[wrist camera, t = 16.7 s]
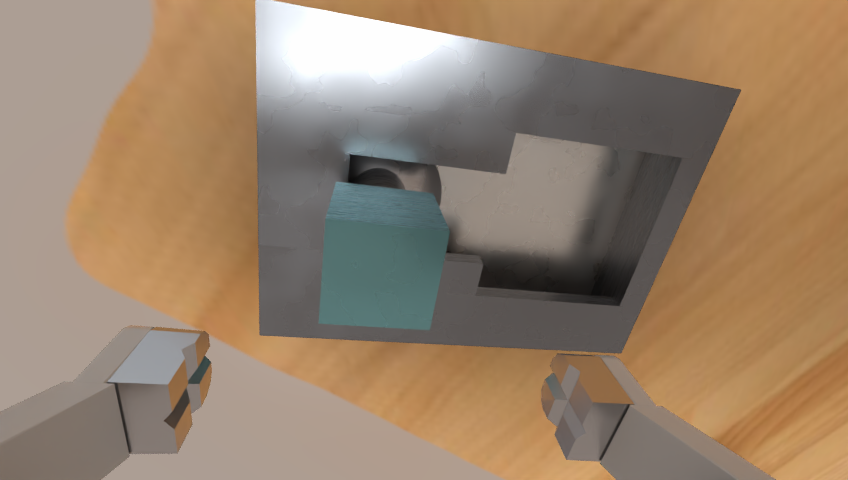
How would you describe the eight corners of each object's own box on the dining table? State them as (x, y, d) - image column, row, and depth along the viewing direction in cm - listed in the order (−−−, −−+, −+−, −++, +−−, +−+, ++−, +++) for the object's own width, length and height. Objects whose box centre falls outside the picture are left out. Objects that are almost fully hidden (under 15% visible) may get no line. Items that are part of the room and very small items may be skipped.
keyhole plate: (676, 83, 23) (741, 89, 19) (586, 312, 29) (621, 353, 25) (280, 9, 19) (255, -3, 15) (277, 290, 25) (259, 335, 21)
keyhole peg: (449, 135, 22) (504, 193, 13) (428, 249, 24) (460, 363, 15) (318, 116, 20) (275, 164, 11) (311, 238, 23) (273, 355, 14)
